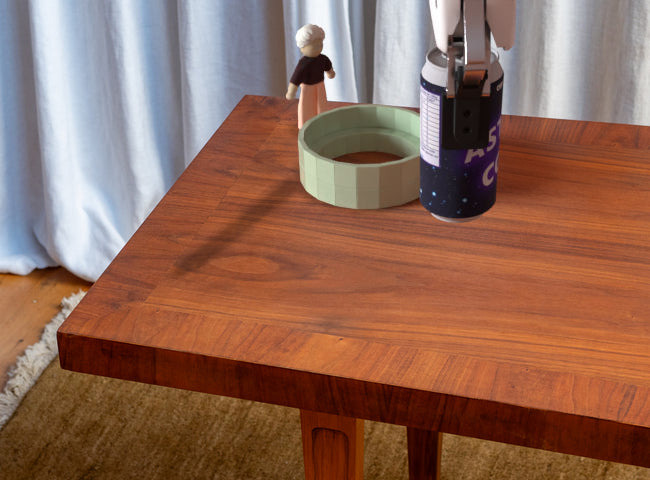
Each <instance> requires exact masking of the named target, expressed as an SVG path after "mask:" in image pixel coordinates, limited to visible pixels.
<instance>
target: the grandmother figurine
mask: <svg viewBox="0 0 650 480" xmlns="http://www.w3.org/2000/svg"><path fill="white" fill-rule="evenodd" d="M294 37H295V42H296V46H297V47H298V48H299V49H300V51H301V53H302V54H303V56H302V57H301V58H299V60H298V62H297V64H296V66H295V68H294V70H293V73H292V75H291V77H290V80H289V84H288V89H287V90H288V91H287V92H286V94H285V97H286V99H287V100H288V101H294V100H295V99H296V93H297V92H298V91H299V87H300V89H301V90H300V95H299V101H298V107H297V116H298V117H297V121H298V122H297V123H298V124H297V127H298V129H299V130H300V129H301V127H302V126H303V125H304V124H305V123H306V121H308V120H310V119H311V118H313V117H315V116H316V115H318V114H320V113H323V112H326V111H329V110H330V108H329V103H328V96H327V90H326V84H325V74H326V78H328V79H329V80H331V79H335V77H336V75H337V74H336V71H335V70H334V66H333V62H332V61H331V59H330V58H329V56H327V55H326V54H324V53H322V52H323V50H324V40H325V39H326V32H325V30H324V29H323V28H322V27H320V26H319V25H317V24H312V23H307V24H305V25H304V26H302V27H301V28H299V29H298V30H297V31H296V34H295V36H294Z"/></svg>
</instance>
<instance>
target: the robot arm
mask: <svg viewBox="0 0 650 480" xmlns="http://www.w3.org/2000/svg"><path fill="white" fill-rule="evenodd" d="M428 3H429V10H430V11H429V12H430V18H431V24H432V27H433V28H432V29H433V33H434V39H435V44H436V47H438V48H439V49H440V50H441V51H442V52H444V53H446V92H442V108H441V147H442V149H444V150H469V149H485V148H486V147H488V145H489V132H490V114H491V97H492V92H491V90H490V62H491V47H492V46H491V45H492V38H493V40H494V44H495V46H496V48H497V49H498V48H502V51H505V52H506V51H507V52H508V51H510V50H511V49H512V48H513V47H514V45H515V44H516V27H517V26H516V25H517V24H516V21H517V0H428ZM456 42H463V46H453V43H456ZM459 56H463V61H462V66H458V68H457V71H455V57H459Z"/></svg>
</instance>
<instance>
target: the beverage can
mask: <svg viewBox="0 0 650 480" xmlns="http://www.w3.org/2000/svg"><path fill="white" fill-rule="evenodd" d="M453 46H463V42H456V43H453ZM425 60H426V61H425V64H424V65H423V67H422V69H421V71H420V73H419V83H420V84H419V96H420V97H419V101H420V102H419V114H420V197H419V202H420V204H421V206H422V207H423V208H424V209H425V210H426V211H428V212H429V213H430V214H431V215H432V217H434V218H436V219H437V220H440V221H442V222H445V223H449V224H450V223H451V224H464V223H470V222H473V221H475V220H478V219H480V218H481V217H482V216H483V215H484V214H485V213H487V212H488V211H490V210H491V209H492V208H494V206H495V204H496V200H497V186H498V174H499V173H498V170H499V159H500V158H499V157H500V144H501V143H500V142H501V126H502V112H503V97H504V83H505V82H504V81H505V71H504V69H503V67H502V65H501V63H500V53H499V51H497V49H496V48H494V47H492V46H491V62H490V90H491V92H492V97H491V114H490V132H489V145H488V147H486V148H485V149H469V150H444V149H442V147H441V108H442V92H446V53H444V52H442V51H441V50H440V49H439V48H438V47H437V46H435V47H433V48H431V49H430V50H429V51H428V52H427V53H426V56H425ZM462 61H463V56H459V57H455V71H457V68H458V66H462Z"/></svg>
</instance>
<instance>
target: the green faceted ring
mask: <svg viewBox="0 0 650 480" xmlns="http://www.w3.org/2000/svg"><path fill="white" fill-rule="evenodd" d="M297 148H298V163H299V178H300V179H299V181H300V183H301V184H302V186H303V188H304V189H305V191H306V192H307V193H308V194H310V195H311V196H313V198H315V199H316V200H318V201H321V202H324V203H327V204H330V205H332V206H335V207H341V208H347V209H354V210H380V209H387V208H391V207H397V206H401V205H405V204H407V203H410V202H412V201H414V200H418V199H420V112H417V111H415V110H412V109H408V108H404V107H401V106H397V105H387V104H378V103H368V104H366V103H365V104H364V103H363V104H351V105H346V106H341V107H339V106H338V107H336V108H332V109H329V111H326V112H323V113H320V114H318V115H316V116H315V117H313V118H311V119H310V120H308V121H306V123H305V124H304V125H303V126H302V127H301V129H299V130H298V136H297ZM359 152H377V153H378V152H379V153H384V154H391V155H394V156H398V157H401V158H402V159H398V160H392V161H386V162H381V163H351V162H345V161H337V160H334V159H336V158H339V157H341V156H345V155H349V154H355V153H359Z"/></svg>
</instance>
